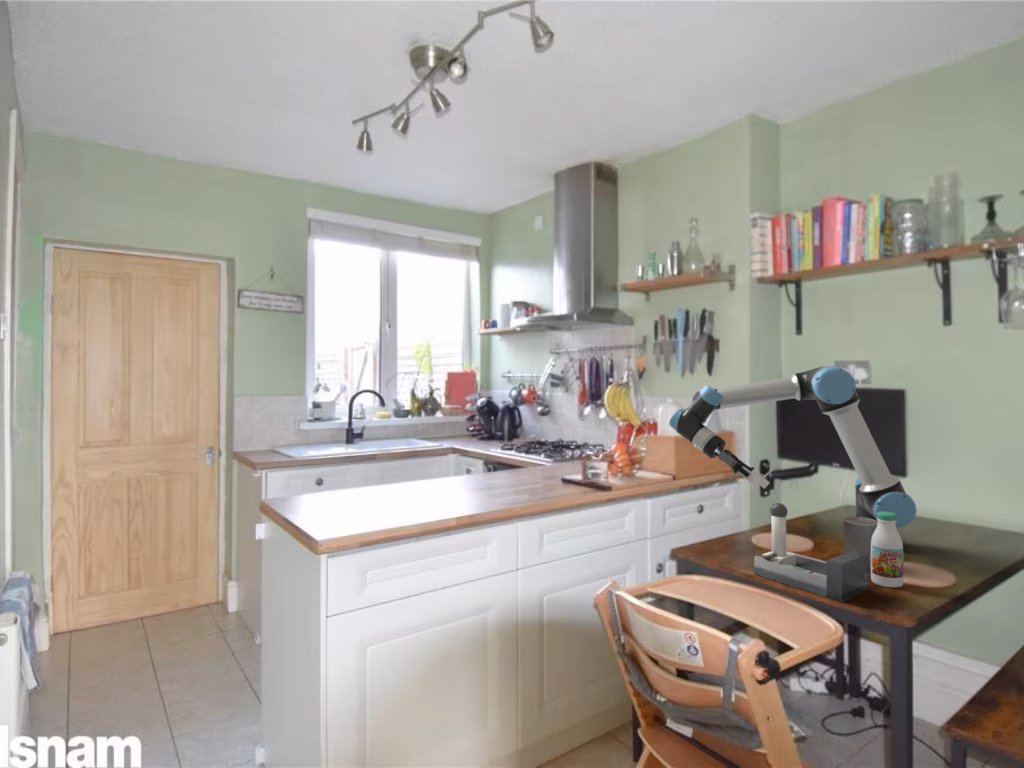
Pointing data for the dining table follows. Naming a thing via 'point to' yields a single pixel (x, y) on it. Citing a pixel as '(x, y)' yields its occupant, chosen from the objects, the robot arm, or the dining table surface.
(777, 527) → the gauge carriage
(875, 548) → the milk bottle
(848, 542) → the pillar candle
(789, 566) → the base
